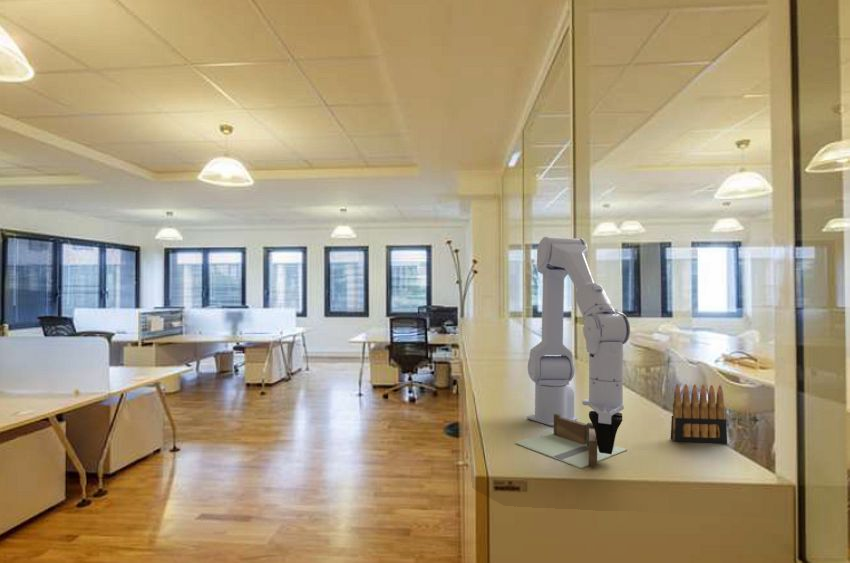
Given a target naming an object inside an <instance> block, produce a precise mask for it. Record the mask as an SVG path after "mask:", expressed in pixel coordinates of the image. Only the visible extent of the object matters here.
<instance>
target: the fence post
mask: <svg viewBox="0 0 850 563" xmlns="http://www.w3.org/2000/svg"><path fill="white" fill-rule="evenodd" d="M589 428H592V429H594V427H593V424H592V422H587V423H584V422H580V421H578V420H576V421H574V420H570V419H567V418H563V417H561V415H560V414H554V426H553V431H554V435H557V436H561V437H564V438H567V439H570V440H573V441H576V442H579V443H582V444H587V446H588V447H589ZM596 442H597V439H596ZM597 447H598V445H597Z"/></svg>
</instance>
